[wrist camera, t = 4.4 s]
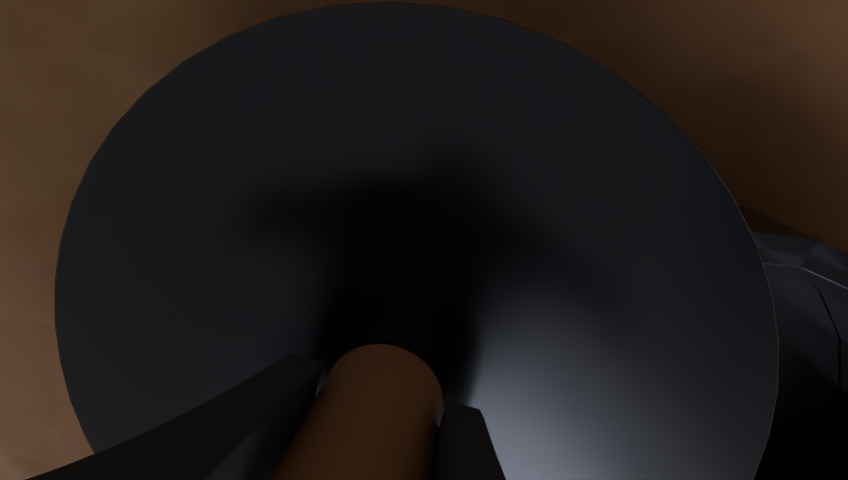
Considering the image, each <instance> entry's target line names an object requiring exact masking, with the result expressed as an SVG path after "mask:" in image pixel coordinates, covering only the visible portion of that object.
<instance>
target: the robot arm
mask: <svg viewBox="0 0 848 480" xmlns="http://www.w3.org/2000/svg"><path fill="white" fill-rule="evenodd" d="M322 364H323V362H319V361H316V360H313V359H309V358H306V357H303V356H299V355H296V354H293V353H291V354H289V355H288V356H286V357H284V358H282V359H280V360H278V361H277V362H275V363H273V364H272V365H270V366H268V367H266V368H265V369H263V370H261V371H260V372H258V373H256V374H255V375H253V376H251V377H249V378H248V379H246V380H244V381H242V382H241V383H239V384H237V385H235V386H234V387H232V388H230V389H228V390H226V391H225V392H223V393H221V394H219V395H217V396H215V397H214V398H212V399H210V400H208V401H206V402H205V403H203V404H201V405H199V406H197V407H195V408H193V409H191V410H189V411H188V412H185V413H183V414H181V415H179V416H177V417H175V418H173V419H171V420H169V421H167V422H165V423H163V424H161V425H159V426H157V427H155V428H153V429H151V430H149V431H147V432H145V433H143V434H140V435H138V436H136V437H134V438H132V439H129V440H127V441H125V442H122V443H120V444H118V445H115V446H113V447H111V448H108V449H106V450H103V451H101V452H98V453H96V454H93V455H91V456H88V457H86V458H83V459H81V460H78V461H76V462H73V463H71V464H68V465H66V466H63V467H60V468H58V469H55V470H52V471H50V472H47V473H44V474H41V475H38V476H35V477H32V478H29V479H26V480H267V479H268V477H269V475H270V474H271V472H272V470H273V468H274V467H275V465H276V463H277V462H278V460H279V458H280V456H281V455H282V453H283V451H284V450H285V448H286V446H287V445H288V443H289V441H290V439H291V438H292V436H293V434H294V433H295V431H296V429H297V427H298V426H299V424H300V422H301V421H302V419H303V417H304V416H305V414H306V412H307V410H308V409H309V407H310V405H311V404H312V402H313V400H314V398H315V396H316V392H317V387H318V382H319V378H320V373H321V368H322ZM431 480H506V478H505V475H504V473H503V470H502V468H501V465H500V462H499V460H498V457H497V454H496V452H495V449H494V446H493V443H492V441H491V438H490V435H489V432H488V429H487V426H486V422H485V419H484V416H483V414H482V413H481V411H480V409H477V408H473V407H470V406H467V405H463V404H460V403H457V402H453V401H450V400H447V403H446V406H445V409H444V412H443V416H442V419H441V422H440V425H439V429H438V435H437V441H436V448H435V454H434V461H433V467H432V476H431Z"/></svg>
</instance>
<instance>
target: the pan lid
mask: <svg viewBox="0 0 848 480" xmlns="http://www.w3.org/2000/svg"><path fill="white" fill-rule="evenodd" d="M55 328H56V335H57V343H58V350H59V357H60V363H61V367H62V371H63V374H64V378H65V382H66V386H67V389H68V393H69V397H70V400H71V403H72V405H73V408H74V410H75V413H76V415H77V418H78V420H79V423H80V425H81V428H82V430H83V433H84V435H85V437H86V439H87V441H88V443H89V445H90V446H91V448H92V450H93V452H94V454H96V453H98V452H101V451H103V450H106V449H108V448H111V447H113V446H115V445H118V444H120V443H122V442H125V441H127V440H129V439H132V438H134V437H136V436H138V435H140V434H143V433H145V432H147V431H149V430H151V429H153V428H155V427H157V426H159V425H161V424H163V423H165V422H167V421H169V420H171V419H173V418H175V417H177V416H179V415H181V414H183V413H185V412H188V411H189V410H191V409H193V408H195V407H197V406H199V405H201V404H203V403H205V402H206V401H208V400H210V399H212V398H214V397H215V396H217V395H219V394H221V393H223V392H225V391H226V390H228V389H230V388H232V387H234V386H235V385H237V384H239V383H241V382H242V381H244V380H246V379H248V378H249V377H251V376H253V375H255V374H256V373H258V372H260V371H261V370H263V369H265V368H266V367H268V366H270V365H272V364H273V363H275V362H277V361H278V360H280V359H282V358H284V357H286V356H288V355H289V354H291V353H293V354H296V355H299V356H303V357H306V358H309V359H313V360H316V361H319V362H323V364H322V368H321V373H320V378H319V382H318V387H317V392H316V396H315V398H314V400H313V402H312V404H311V405H310V407H309V409H308V410H307V412H306V414H305V416H304V417H303V419H302V421H301V422H300V424H299V426H298V427H297V429H296V431H295V433H294V434H293V436H292V438H291V439H290V441H289V443H288V445H287V446H286V448H285V450H284V451H283V453H282V455H281V456H280V458H279V460H278V462H277V463H276V465H275V467H274V468H273V470H272V472H271V474H270V475H269V477H268V479H267V480H431V476H432V467H433V461H434V454H435V448H436V441H437V435H438V429H439V425H440V422H441V419H442V416H443V412H444V409H445V406H446V403H447V400H450V401H453V402H457V403H460V404H463V405H467V406H470V407H473V408H477V409H480V411H481V413H482V414H483V416H484V419H485V422H486V426H487V429H488V432H489V435H490V438H491V441H492V443H493V446H494V449H495V452H496V454H497V457H498V460H499V462H500V465H501V468H502V470H503V473H504V475H505V478H506V480H753V479H754V477H755V475H756V472H757V469H758V466H759V464H760V461H761V458H762V455H763V452H764V450H765V447H766V444H767V441H768V438H769V436H770V430H771V425H772V420H773V414H774V409H775V404H776V398H777V393H778V366H779V339H778V332H777V325H776V318H775V311H774V304H773V296H772V291H771V288H770V285H769V282H768V278H767V275H766V272H765V269H764V265H763V262H762V259H761V256H760V253H759V249H758V246H757V243H756V241H755V239H754V237H753V235H752V233H751V231H750V229H749V227H748V225H747V223H746V221H745V219H744V217H743V215H742V213H741V211H740V209H739V207H738V204H737V202H736V200H735V198H734V196H733V195H732V193H731V192H730V190H729V189H728V187H727V186H726V185H725V183H724V182H723V180H722V179H721V177H720V176H719V175H718V173H717V172H716V170H715V169H714V168H713V166H712V165H711V163H710V162H709V160H708V159H707V158H706V156H705V155H704V153H703V152H702V150H701V149H700V148H699V147H698V146H697V145H696V144H695V143H694V142H693V141H692V140H691V139H690V138H689V137H688V136H687V134H686V133H685V132H684V131H683V130H682V129H681V128H680V127H679V126H678V125H677V124H676V123H675V122H674V121H673V120H672V119H671V118H670V117H669V116H668V115H667V114H666V113H665V111H664V110H663V109H662V108H661V107H659V106H658V105H657V104H656V103H654V102H653V101H652V100H650V99H649V98H648V97H646V96H645V95H644V94H643V93H641V92H640V91H639V90H637V89H636V88H635V87H634V86H632V85H631V84H630V83H628V82H627V81H626V80H625V79H623V78H622V77H621V76H619V75H618V74H617V73H616V72H614V71H613V70H611V69H609V68H607V67H606V66H604V65H602V64H600V63H598V62H597V61H595V60H593V59H591V58H590V57H588V56H586V55H584V54H582V53H581V52H579V51H577V50H575V49H574V48H572V47H570V46H568V45H567V44H565V43H563V42H561V41H558V40H556V39H553V38H551V37H548V36H546V35H543V34H540V33H538V32H535V31H533V30H530V29H527V28H525V27H522V26H520V25H517V24H515V23H512V22H509V21H507V20H504V19H499V18H495V17H491V16H486V15H482V14H477V13H473V12H469V11H464V10H460V9H456V8H451V7H447V6H435V5H423V4H410V3H398V2H376V3H360V4H345V5H331V6H326V7H322V8H317V9H312V10H308V11H303V12H298V13H294V14H289V15H285V16H280V17H276V18H274V19H271V20H268V21H266V22H263V23H260V24H258V25H255V26H253V27H250V28H247V29H245V30H242V31H239V32H237V33H234V34H232V35H229V36H227V37H225V38H223V39H222V40H220V41H218V42H216V43H215V44H213V45H211V46H209V47H208V48H206V49H204V50H202V51H201V52H199V53H197V54H195V55H194V56H192V57H190V58H188V59H187V60H185V61H183V62H182V63H181V64H180V65H178V66H177V67H176V68H175V69H173V70H172V71H171V72H170V73H168V74H167V75H166V76H165V77H163V78H162V79H161V80H159V81H158V82H157V83H156V84H154V85H153V86H152V87H151V88H149V89H148V90H147V91H146V92H145V93H144V94H143V95H142V96H141V97H140V98H139V99H138V100H137V102H136V103H135V104H134V105H133V106H132V107H131V108H130V109H129V110H128V111H127V112H126V114H125V115H124V116H123V117H122V118H121V119H120V120H119V121H118V122H117V123H116V125H115V126H114V127H113V128H112V130H111V131H110V133H109V134H108V136H107V138H106V139H105V141H104V142H103V144H102V145H101V147H100V148H99V150H98V151H97V153H96V154H95V156H94V157H93V159H92V160H91V162H90V163H89V165H88V168H87V170H86V172H85V174H84V176H83V179H82V181H81V183H80V185H79V187H78V189H77V192H76V194H75V196H74V198H73V200H72V203H71V206H70V210H69V213H68V217H67V220H66V223H65V227H64V230H63V234H62V237H61V241H60V247H59V254H58V261H57V269H56V276H55Z"/></svg>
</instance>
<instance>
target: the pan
mask: <svg viewBox="0 0 848 480" xmlns="http://www.w3.org/2000/svg"><path fill="white" fill-rule="evenodd" d="M738 207H739V209H740V211H741V213H742V215H743V217H744V219H745V221H746V223H747V225H748V227H749V229H750V231H751V233H752V235H753V237H754V239H755V241H756V243H757V246H758V249H759V253H760V256H761V259H762V262H763V265H764V269H765V272H766V275H767V278H768V282H769V285H770V288H771V291H772V296H773V304H774V311H775V318H776V325H777V332H778V339H779V366H778V393H777V398H776V404H775V409H774V414H773V420H772V425H771V430H770V436H769V438H768V441H767V444H766V447H765V450H764V452H763V455H762V458H761V461H760V464H759V466H758V469H757V472H756V475H755V477H754V479H753V480H848V253H847V252H845V251H843V250H840V249H838V248H836V247H834V246H832V245H830V244H827V243H825V242H823V241H821V240H819V239H816V238H814V237H812V236H809V235H807V234H805V233H803V232H800V231H798V230H796V229H793V228H791V227H789V226H786V225H784V224H782V223H780V222H777V221H775V220H773V219H770V218H768V217H766V216H763V215H761V214H759V213H757V212H754V211H752V210H750V209H747V208H745V207H743V206H739V205H738Z"/></svg>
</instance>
